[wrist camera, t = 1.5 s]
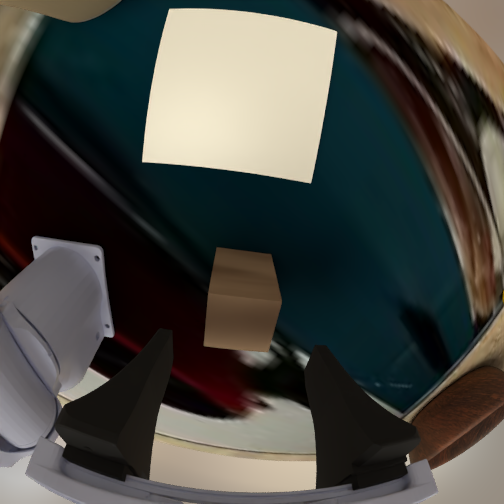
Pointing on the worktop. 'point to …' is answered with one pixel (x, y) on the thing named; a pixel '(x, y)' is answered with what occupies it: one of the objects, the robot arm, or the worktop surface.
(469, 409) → the wooden bowl
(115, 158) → the worktop surface
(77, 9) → the coffee cup
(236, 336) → the walnut brick
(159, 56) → the base brick
